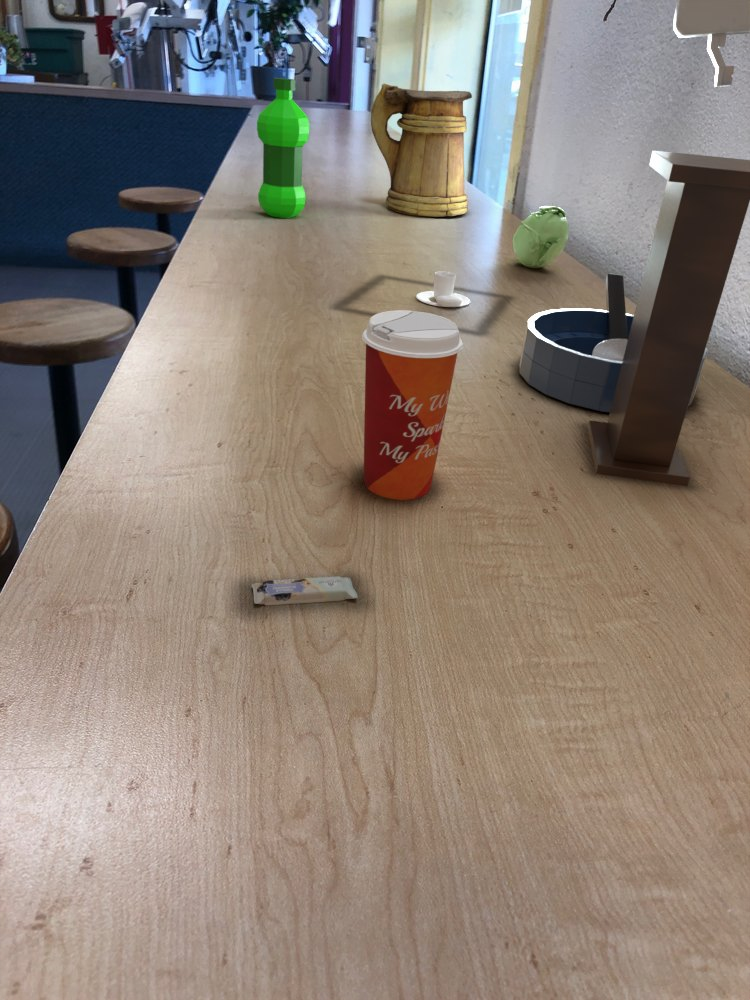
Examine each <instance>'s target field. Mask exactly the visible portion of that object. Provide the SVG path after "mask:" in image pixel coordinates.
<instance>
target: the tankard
mask: <svg viewBox="0 0 750 1000" xmlns="http://www.w3.org/2000/svg"><path fill="white" fill-rule="evenodd" d="M472 98H473V95H472V93H471V92H470V91H466V90H417V89H416V90H415V89H409V88H402V87H399V86H398V85H390V84H387V83H382V84H381V88H380V89H379V92H378V94H377V95H376V96H375V99H374V101H373V103H372V107H371V111H370V125H371V126H370V127H371V132H372V134H373V137H374V138H373V139H374V140H375V143H376V145H377V147H378V149H379V151H380V153H381V155H382V157H383V159H384V161H385V163H386V166H387V169H388V172H389V176H390V187H389V188H388V191H387V196H386V197H385V203H386V205H387V206H388V209H389V210H391V211H393V212H396V213H398V214H405V215H410V216H419V217H432V218H433V217H434V218H435V217H436V218H437V217H455V216H461V215H464V214H466V213H467V212H468V211H469V207H468V205H469V201H468V195H467V194H466V187H465V136H464V135H465V134H464V133H466V132H467V128H468V127H467V116H465V115H464V101H468V100H470V99H472ZM397 114H400V115H401V117H400V118H399V119H397V121H396V125H397V126H398V127H399V128H401V129H402V130H401V135H400V138H399V140H397V139H394V138H393V137H391V135H390V133H389V130H388V125H389V121H390V119H391V117H392V116H394V115H397Z"/></svg>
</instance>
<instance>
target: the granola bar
mask: <svg viewBox="0 0 750 1000" xmlns="http://www.w3.org/2000/svg"><path fill="white" fill-rule="evenodd" d="M251 588H252V591H253V603H254V604H258V605H264V606H265V607H266V606H281V605H298V604H308V603H309V604H312V603H325V602H340V601H345V600H354V599H358V598H359V597H358V593H357V591H356V590H355V588H354V587H353V582H352V580H351V577H342V576H340V575H337V576H320V577H319V576H317V577H302V578H301V577H300V578H287V579H271V580H263V581H262V582H255V583H251Z"/></svg>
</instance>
